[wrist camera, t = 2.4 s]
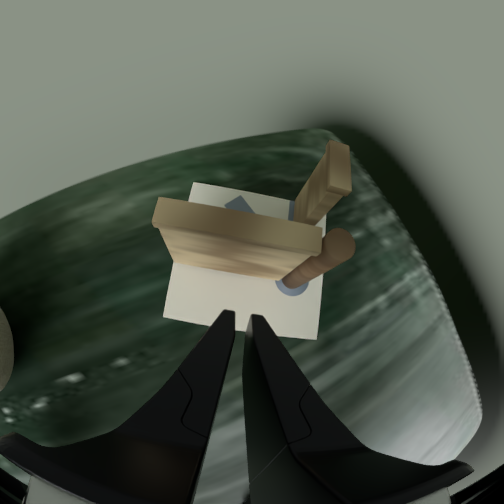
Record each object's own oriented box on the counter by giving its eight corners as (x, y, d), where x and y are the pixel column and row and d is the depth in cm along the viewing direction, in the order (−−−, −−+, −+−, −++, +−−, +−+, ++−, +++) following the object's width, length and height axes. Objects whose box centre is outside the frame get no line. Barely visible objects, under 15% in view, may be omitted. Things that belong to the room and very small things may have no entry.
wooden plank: (300, 290, 23) (355, 262, 14) (280, 287, 22) (324, 257, 14) (307, 205, 25) (351, 146, 16) (289, 201, 25) (326, 138, 16)
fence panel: (281, 266, 22) (322, 227, 14) (279, 283, 22) (321, 252, 14) (176, 247, 22) (158, 196, 13) (172, 264, 21) (151, 221, 13)
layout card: (315, 339, 22) (316, 339, 22) (163, 317, 21) (162, 316, 20) (325, 210, 26) (326, 208, 25) (193, 183, 24) (193, 181, 24)
